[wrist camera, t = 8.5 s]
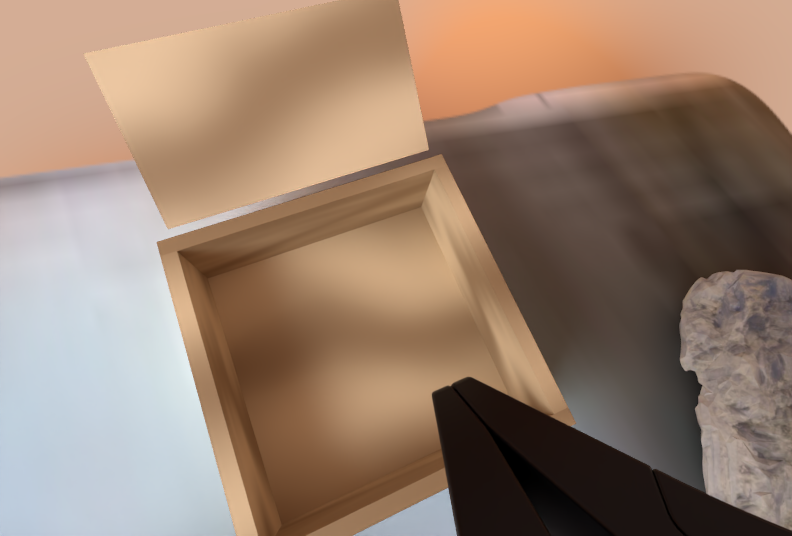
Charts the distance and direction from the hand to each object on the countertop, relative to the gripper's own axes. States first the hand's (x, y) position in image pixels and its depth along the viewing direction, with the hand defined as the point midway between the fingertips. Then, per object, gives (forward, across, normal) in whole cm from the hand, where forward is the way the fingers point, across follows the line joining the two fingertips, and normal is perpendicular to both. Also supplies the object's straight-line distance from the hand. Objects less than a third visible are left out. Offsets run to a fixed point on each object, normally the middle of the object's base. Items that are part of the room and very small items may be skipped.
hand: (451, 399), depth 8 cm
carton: (+10, 0, +6) cm, 11 cm away
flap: (+11, 0, -5) cm, 12 cm away
